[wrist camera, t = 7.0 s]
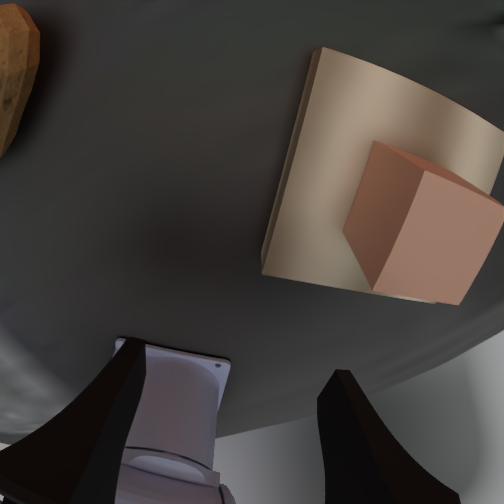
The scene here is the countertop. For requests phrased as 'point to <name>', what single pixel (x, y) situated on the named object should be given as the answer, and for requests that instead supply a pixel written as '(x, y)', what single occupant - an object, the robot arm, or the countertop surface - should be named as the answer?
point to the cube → (420, 227)
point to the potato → (16, 68)
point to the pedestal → (360, 161)
